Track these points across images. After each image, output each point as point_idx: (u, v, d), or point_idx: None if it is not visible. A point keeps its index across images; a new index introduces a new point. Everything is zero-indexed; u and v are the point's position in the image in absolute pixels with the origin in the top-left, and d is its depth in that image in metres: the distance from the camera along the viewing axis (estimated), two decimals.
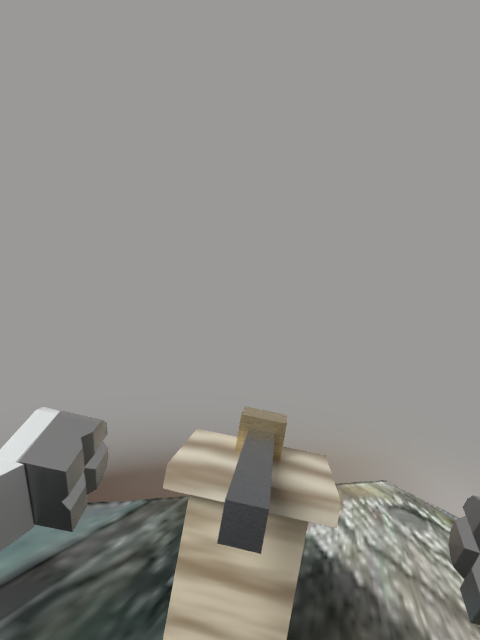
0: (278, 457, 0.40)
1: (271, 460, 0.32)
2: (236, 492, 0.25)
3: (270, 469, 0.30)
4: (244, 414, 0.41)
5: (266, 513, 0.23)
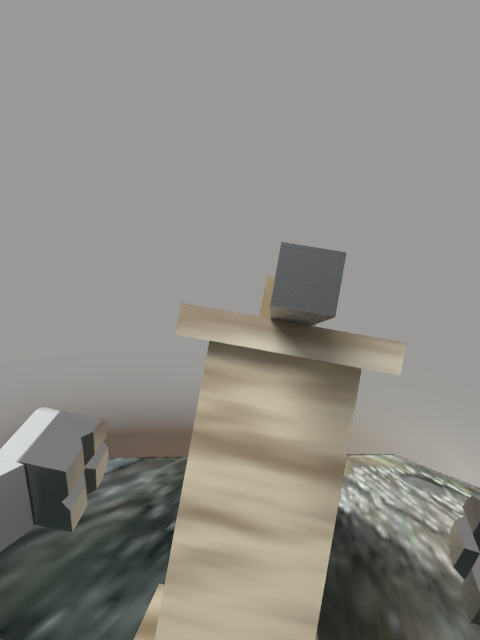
0: None
1: None
2: None
3: None
4: None
5: (342, 259, 0.16)
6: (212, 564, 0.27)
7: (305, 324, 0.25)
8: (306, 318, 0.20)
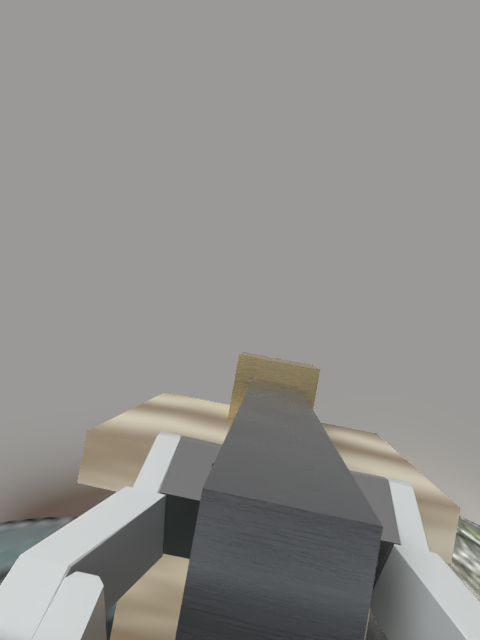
0: None
1: (312, 413, 0.14)
2: (243, 467, 0.07)
3: (318, 426, 0.12)
4: (244, 355, 0.23)
5: (371, 542, 0.06)
6: None
7: None
8: None
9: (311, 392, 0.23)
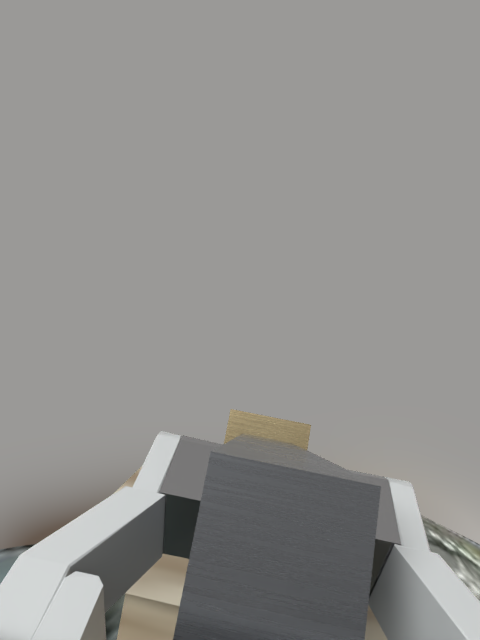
0: None
1: (306, 450, 0.14)
2: (246, 452, 0.07)
3: (313, 454, 0.12)
4: None
5: (371, 504, 0.06)
6: None
7: None
8: None
9: (302, 448, 0.22)
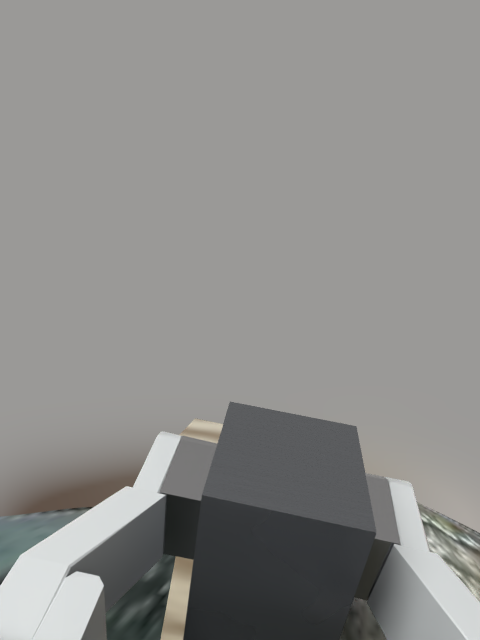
0: None
1: None
2: None
3: None
4: None
5: (351, 435, 0.08)
6: None
7: None
8: None
9: None
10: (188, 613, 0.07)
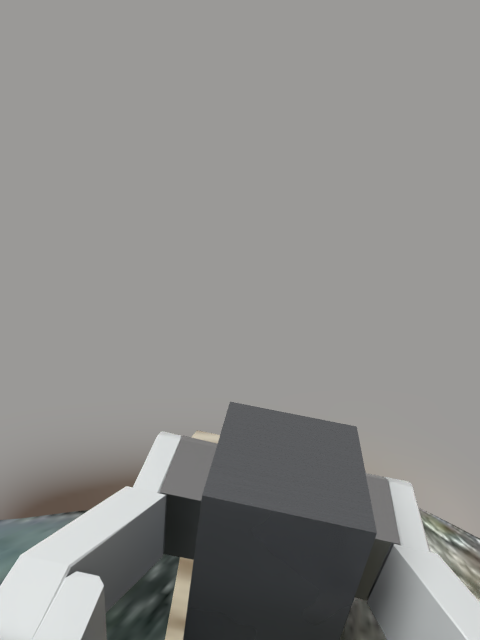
0: None
1: None
2: None
3: None
4: None
5: (352, 435, 0.08)
6: None
7: None
8: None
9: None
10: (188, 613, 0.07)
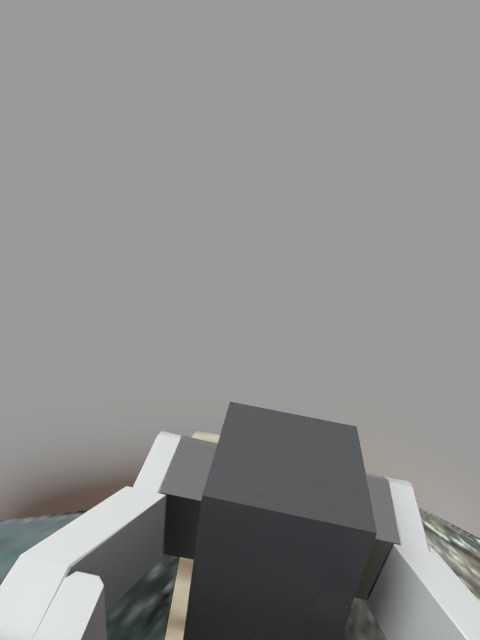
0: None
1: None
2: None
3: None
4: None
5: (352, 435, 0.08)
6: None
7: None
8: None
9: None
10: (188, 613, 0.07)
